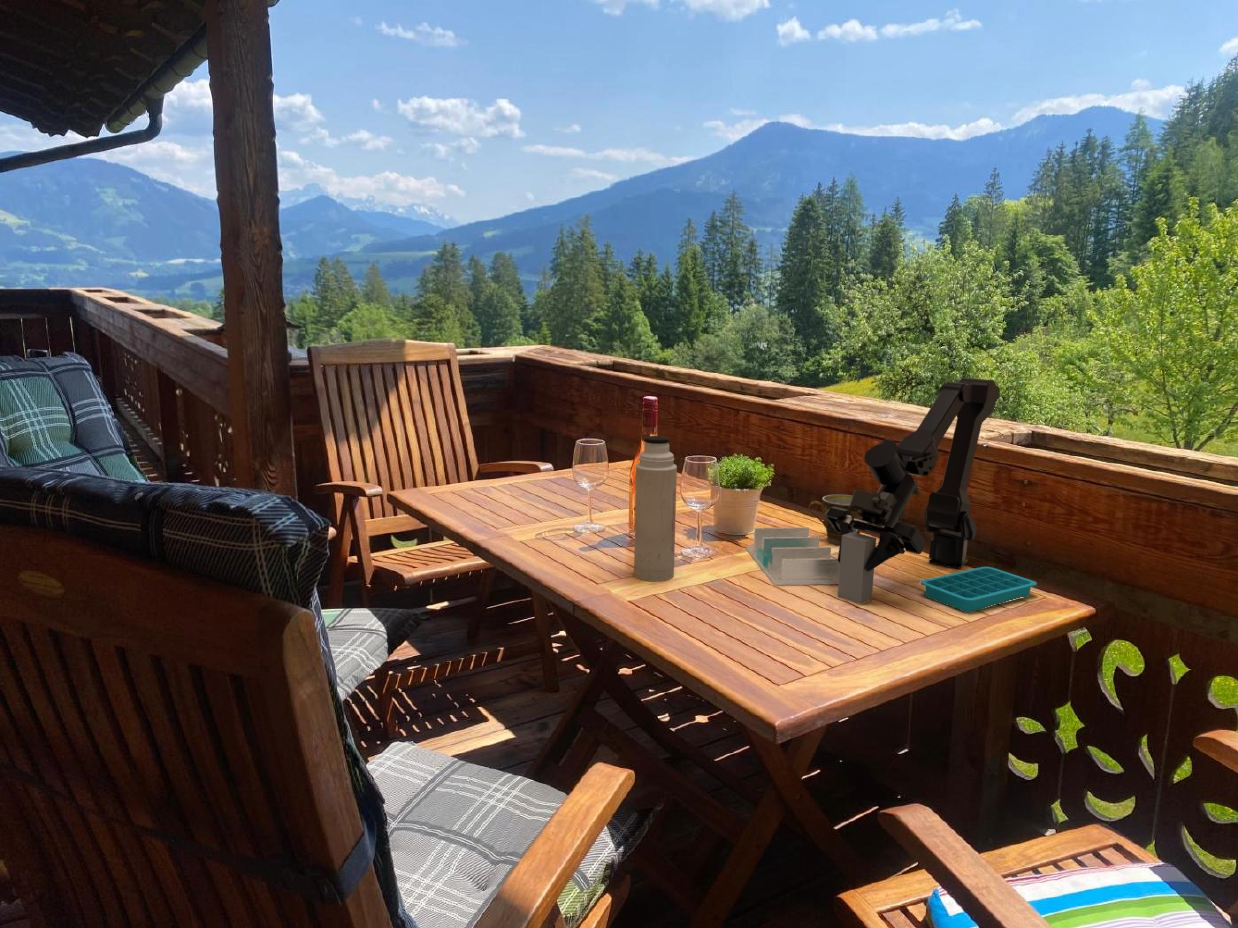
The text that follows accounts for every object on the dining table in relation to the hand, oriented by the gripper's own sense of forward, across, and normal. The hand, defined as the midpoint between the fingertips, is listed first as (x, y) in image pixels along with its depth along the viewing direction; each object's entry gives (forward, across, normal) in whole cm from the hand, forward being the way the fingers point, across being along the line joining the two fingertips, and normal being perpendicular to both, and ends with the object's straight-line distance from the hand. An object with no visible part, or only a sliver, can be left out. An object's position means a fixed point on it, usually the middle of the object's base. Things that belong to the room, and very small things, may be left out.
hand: (852, 566), depth 157 cm
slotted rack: (-1, -19, +10) cm, 22 cm away
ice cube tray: (-10, +14, +20) cm, 26 cm away
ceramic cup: (-16, -24, +26) cm, 39 cm away
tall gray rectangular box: (+4, 0, +6) cm, 7 cm away
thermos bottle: (+18, -33, -9) cm, 39 cm away
